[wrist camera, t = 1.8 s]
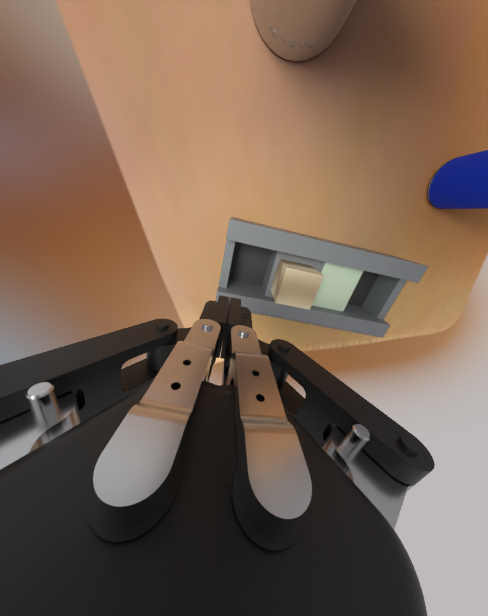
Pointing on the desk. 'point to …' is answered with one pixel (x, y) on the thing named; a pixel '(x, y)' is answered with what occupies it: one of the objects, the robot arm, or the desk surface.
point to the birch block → (295, 284)
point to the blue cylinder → (461, 183)
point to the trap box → (328, 261)
